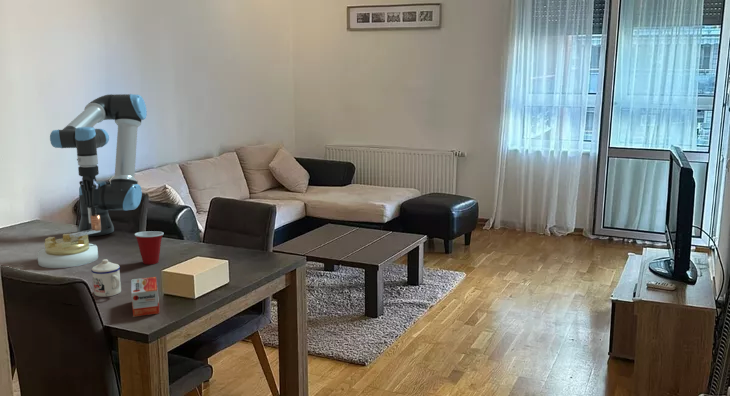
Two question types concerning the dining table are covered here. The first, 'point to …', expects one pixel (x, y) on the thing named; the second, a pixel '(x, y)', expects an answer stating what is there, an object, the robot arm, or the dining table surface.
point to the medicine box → (144, 296)
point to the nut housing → (67, 258)
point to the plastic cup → (149, 245)
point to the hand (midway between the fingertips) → (93, 222)
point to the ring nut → (72, 240)
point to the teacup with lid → (106, 279)
